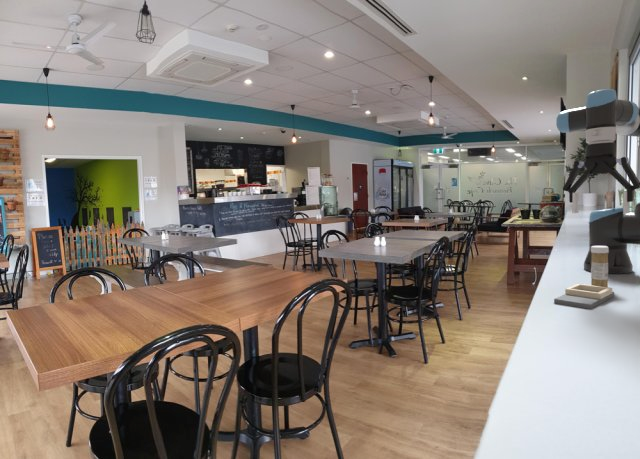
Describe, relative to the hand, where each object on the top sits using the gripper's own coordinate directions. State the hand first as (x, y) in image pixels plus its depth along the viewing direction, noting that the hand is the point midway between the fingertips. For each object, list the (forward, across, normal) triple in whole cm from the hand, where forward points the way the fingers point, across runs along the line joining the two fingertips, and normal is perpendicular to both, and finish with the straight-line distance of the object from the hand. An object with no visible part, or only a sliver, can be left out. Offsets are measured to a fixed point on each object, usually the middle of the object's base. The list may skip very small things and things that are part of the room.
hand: (599, 213), depth 128 cm
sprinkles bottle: (+24, 0, 0) cm, 24 cm away
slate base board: (+24, +2, -16) cm, 29 cm away
